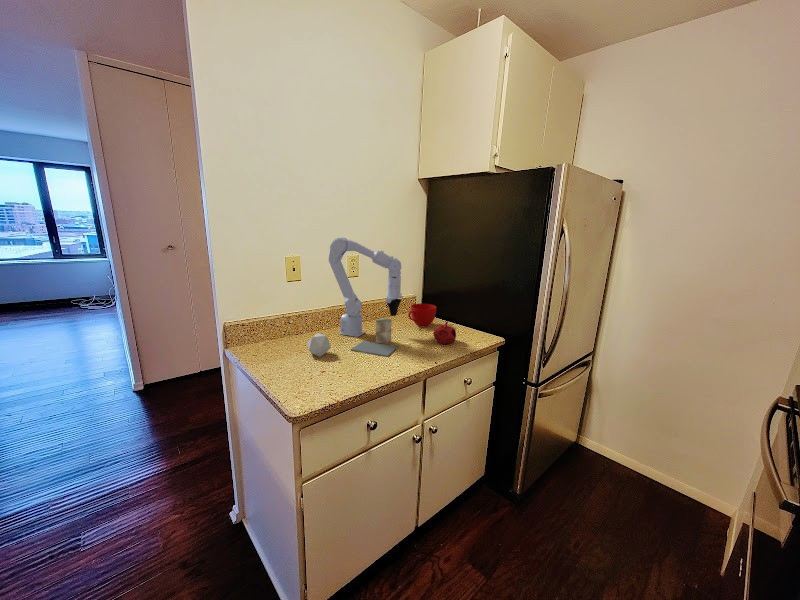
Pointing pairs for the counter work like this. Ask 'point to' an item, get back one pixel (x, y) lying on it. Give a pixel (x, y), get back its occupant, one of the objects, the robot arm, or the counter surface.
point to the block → (383, 331)
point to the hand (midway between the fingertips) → (393, 315)
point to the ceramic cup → (422, 314)
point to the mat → (374, 348)
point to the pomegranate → (444, 334)
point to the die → (318, 344)
